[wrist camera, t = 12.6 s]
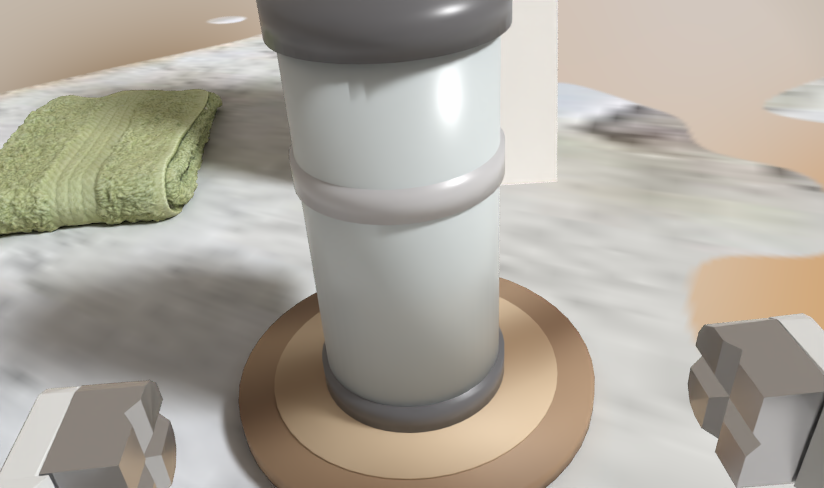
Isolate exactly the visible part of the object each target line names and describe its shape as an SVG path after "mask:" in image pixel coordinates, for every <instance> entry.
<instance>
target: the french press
mask: <svg viewBox="0 0 824 488" xmlns="http://www.w3.org/2000/svg"><path fill="white" fill-rule="evenodd" d="M512 1H513V0H256V2H257V8H258V13H259V19H260V25H261V30H262V36H263V40H264V43H265V44H266V45H267V46H268V47H269V48H270V49H272V50H273V51H275V52H277V57H278V63H279V69H280V75H281V81H282V87H283V93H284V99H285V105H286V111H287V117H288V123H289V129H290V135H291V141H292V144H291V146H290V149H289V160H290V166H291V172H292V178H293V183H294V188H295V191H296V194H297V195H298V197H299V198H300V200H301V201H302V207H303V213H304V219H305V225H306V231H307V237H308V243H309V249H310V255H311V261H312V267H313V273H314V279H315V285H316V291H317V297H318V303H319V309H320V315H321V321H322V327H323V333H324V339H325V341H324V344H323V350H322V361H323V367H324V373H325V379H326V384H327V387H328V391H329V393H330V395H331V397H332V399H333V400H334V401H335V403H336V404H337V406H338V407H340V408H341V409H342V410H343V411H344V412H345V413H346V414H347V415H349V416H350V417H352V418H353V419H355V420H357V421H359V422H361V423H363V424H365V425H368V426H370V427H373V428H377V429H381V430H385V431H391V432H398V433H419V432H428V431H434V430H439V429H443V428H446V427H450V426H452V425H455V424H457V423H460V422H462V421H464V420H466V419H468V418H470V417H472V416H473V415H474V414H476V413H477V412H479V411H480V410H481V409H483V408H484V407H485V406H486V405H487V404H488V403H489V402H490V401H491V400H492V398H493V397H494V396H495V394H496V393H497V391H498V389H499V388H500V385H501V383H502V380H503V375H504V338H503V334H502V331H501V329H500V327H499V238H500V184H501V183H502V181H503V178H504V175H505V135H504V132H503V130H502V129H501V127H500V80H501V35H502V34H503V33H505V32H506V31H507V30H508V29H509V28H510V26H511V24H512Z"/></svg>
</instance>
